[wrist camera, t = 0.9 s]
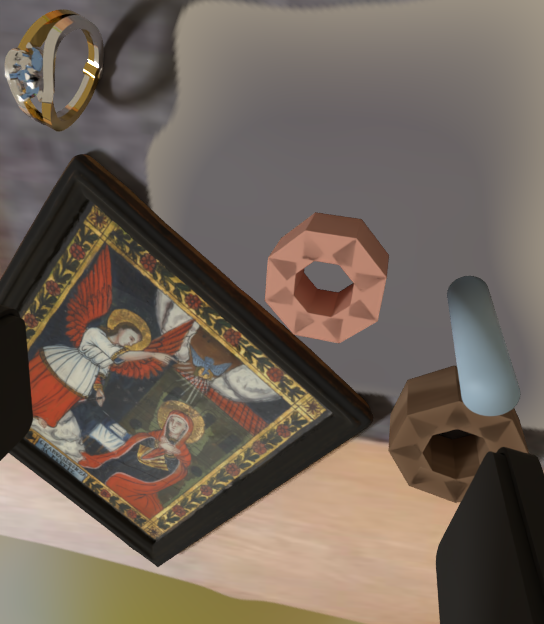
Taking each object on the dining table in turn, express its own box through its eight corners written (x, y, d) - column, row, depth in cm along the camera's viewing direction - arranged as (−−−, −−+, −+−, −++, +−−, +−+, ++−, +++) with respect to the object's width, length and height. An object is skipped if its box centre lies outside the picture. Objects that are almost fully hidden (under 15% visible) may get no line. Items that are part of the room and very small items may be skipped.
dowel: (480, 269, 35) (508, 365, 25) (494, 302, 36) (528, 407, 26) (441, 284, 36) (453, 381, 26) (455, 316, 37) (473, 422, 27)
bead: (489, 354, 38) (498, 390, 34) (530, 443, 40) (543, 485, 37) (376, 389, 42) (373, 424, 38) (421, 468, 44) (422, 509, 41)
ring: (91, 6, 33) (7, -4, 26) (133, 32, 33) (60, 29, 26) (65, 105, 37) (-14, 119, 30) (103, 128, 37) (33, 148, 30)
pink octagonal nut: (341, 192, 35) (334, 209, 31) (407, 279, 36) (407, 304, 33) (258, 255, 38) (243, 275, 35) (321, 331, 40) (313, 357, 37)
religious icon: (42, 116, 38) (17, 121, 36) (404, 378, 41) (404, 400, 39) (-57, 403, 57) (-78, 419, 55) (194, 566, 61) (185, 588, 58)
